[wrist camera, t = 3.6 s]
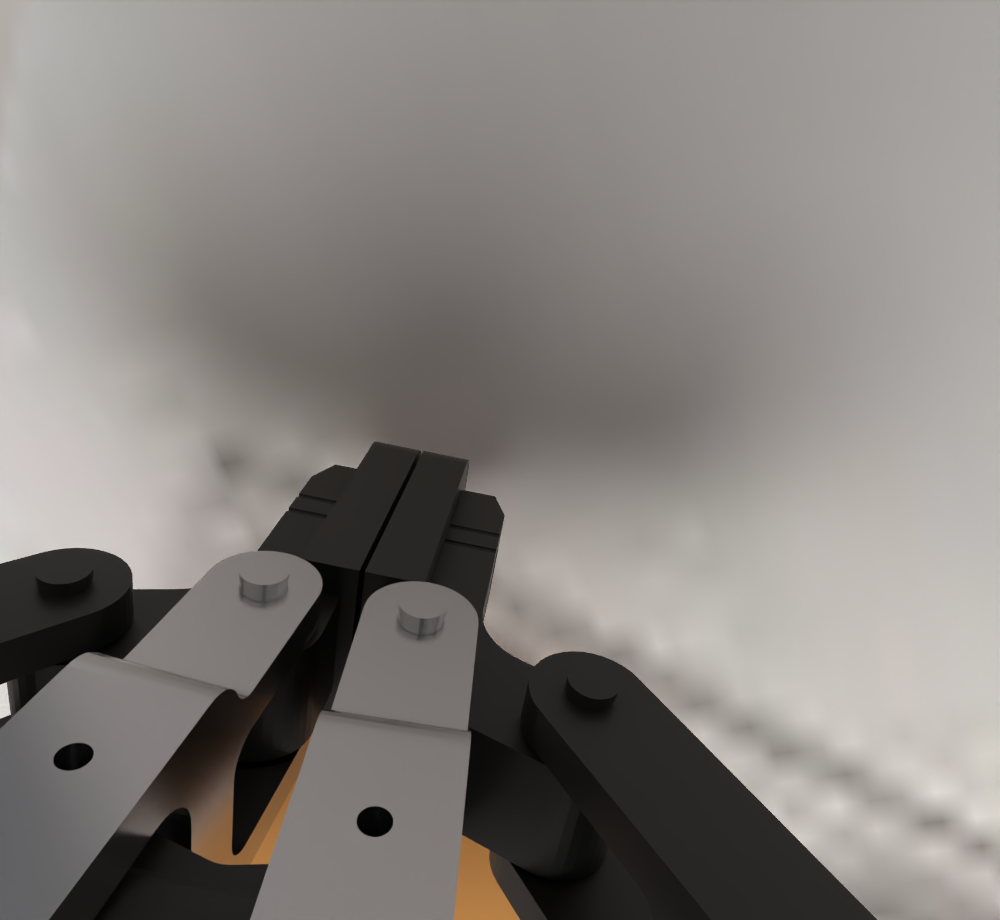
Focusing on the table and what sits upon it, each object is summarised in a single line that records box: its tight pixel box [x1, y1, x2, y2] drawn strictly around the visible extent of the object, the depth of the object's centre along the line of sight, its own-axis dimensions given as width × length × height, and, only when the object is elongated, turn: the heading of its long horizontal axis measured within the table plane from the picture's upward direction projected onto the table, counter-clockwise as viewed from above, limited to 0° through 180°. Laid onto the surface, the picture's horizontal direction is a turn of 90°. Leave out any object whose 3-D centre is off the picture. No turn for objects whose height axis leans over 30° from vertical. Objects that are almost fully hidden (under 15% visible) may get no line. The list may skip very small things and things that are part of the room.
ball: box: [251, 735, 520, 920], centre depth 15 cm, size 6×6×6 cm
